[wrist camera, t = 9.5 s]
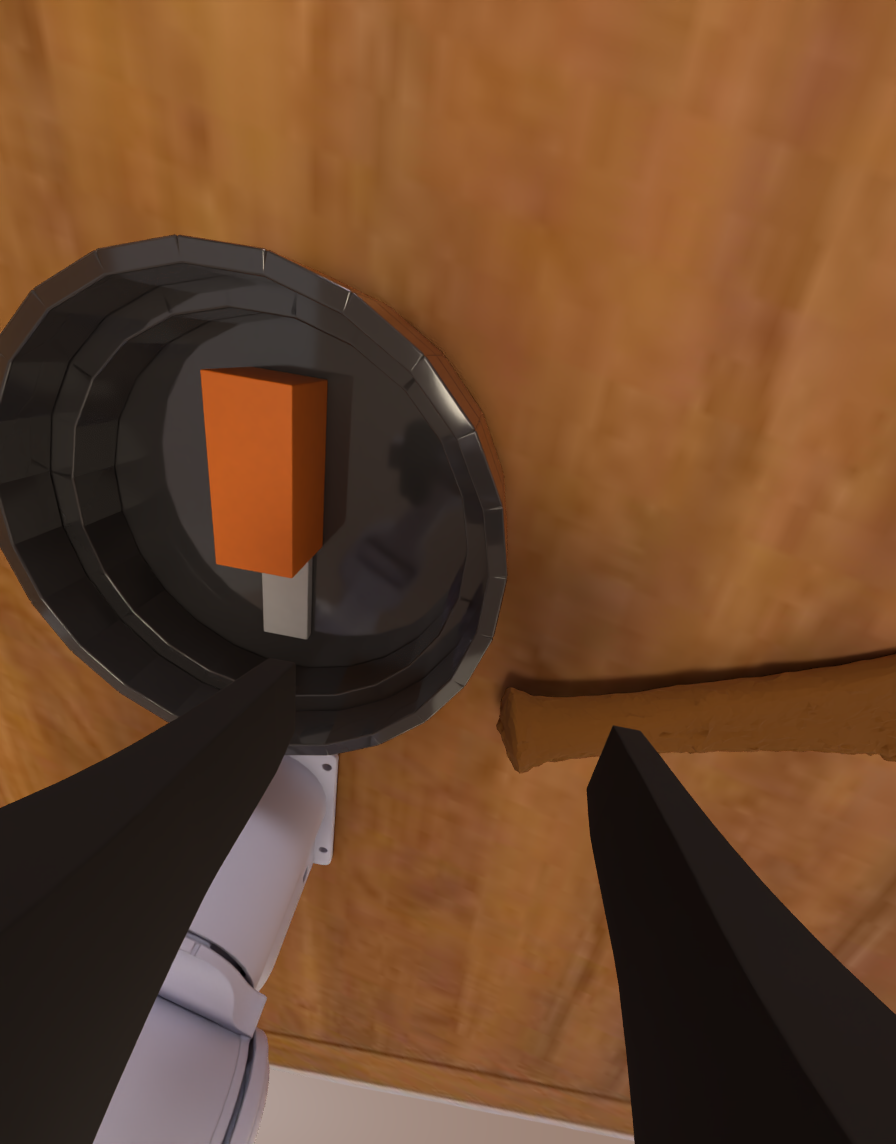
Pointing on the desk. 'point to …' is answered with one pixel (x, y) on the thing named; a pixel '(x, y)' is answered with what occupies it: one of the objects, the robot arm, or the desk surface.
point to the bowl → (183, 503)
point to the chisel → (268, 482)
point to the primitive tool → (716, 716)
